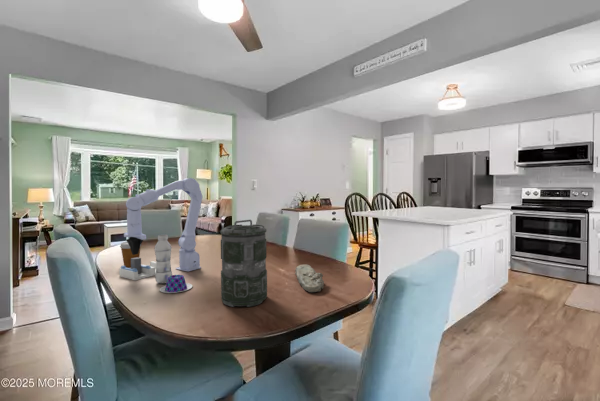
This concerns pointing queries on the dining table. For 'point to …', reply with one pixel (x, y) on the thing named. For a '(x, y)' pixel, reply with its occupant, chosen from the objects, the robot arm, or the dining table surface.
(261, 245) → the canister
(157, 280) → the plastic bottle
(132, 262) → the cord plug
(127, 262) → the disposable coffee cup
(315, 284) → the long grey stone
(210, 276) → the dining table surface
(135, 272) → the white blue cradle
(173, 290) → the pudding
